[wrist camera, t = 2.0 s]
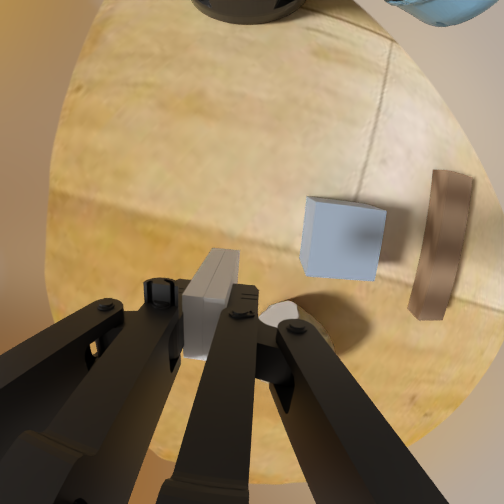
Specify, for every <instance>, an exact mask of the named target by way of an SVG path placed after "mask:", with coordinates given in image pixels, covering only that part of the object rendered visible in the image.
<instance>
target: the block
mask: <svg viewBox="0 0 504 504" xmlns="http://www.w3.org/2000/svg"><path fill="white" fill-rule="evenodd" d="M386 213H387V211H385V210H382V209H380V208H377V207H374V206H371V205H368V204H364V203H357V202H349V201H342V200H334V199H326V198H318V197H309V196H307V197H306V207H305V216H304V225H303V233H302V241H301V249H300V257H299V259H300V261H301V264H302V266H303V269H304V272H305V274H306V276H310V277H322V278H335V279H349V280H363V281H374V280H375V276H376V271H377V266H378V261H379V256H380V250H381V245H382V239H383V233H384V227H385V220H386Z"/></svg>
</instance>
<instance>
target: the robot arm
mask: <svg viewBox="0 0 504 504" xmlns="http://www.w3.org/2000/svg"><path fill="white" fill-rule="evenodd" d="M191 1H192V3H193V4H194V5H195V6H196V8H197V9H199V10H200V11H201V12H202V13H204V14H206V15H207V16H209V17H211V18H214V19H217V20H220V21H223V22H228V23H234V24H259V23H265V22H270V21H274V20H277V19H280V18H283V17H285V16H287V15H289V14H291V13H293V12H294V11H296V10H297V9H298V8H300V7H301V6H302V5H303V3H304V2H305V1H306V0H191ZM385 1H386V2H387V3H389V4H391V5H394V6H397V7H399V8H401V9H403V10H404V11H406V12H408V13H409V14H411V15H413V16H414V17H416V18H418V19H419V20H421V21H422V22H424V23H426V24H429V25H432V26H437V27H446V26H450V25H457V24H460V23H463V22H465V21H468V20H470V19H472V18H474V17H476V16H477V15H479V14H481V13H483V12H484V11H485V10H487V9H488V8H490V7H491V6H492V5H494V4H495V3H496V2H497V1H498V0H385ZM239 255H240V250H231V249H220V248H212V249H211V251H210V252H209V254H208V255H207V257H206V259H205V260H204V262H203V263H202V265H201V266H200V268H199V269H198V271H197V272H196V274H195V275H194V277H193V279H192V280H186V279H178V280H176V281H175V280H173V279H169V278H152V279H148V280H146V281H145V282H143V283H144V300H145V303H144V304H143V305H142V306H141V308H140V309H139V310H138V311H124V309H123V304H122V302H121V301H119V300H116V299H112V298H104V299H100V300H97V301H95V302H93V303H91V304H89V305H87V306H85V307H84V308H82V309H80V310H78V311H76V312H75V313H73V314H71V315H69V316H67V317H66V318H64V319H62V320H60V321H59V322H57V323H55V324H53V325H51V326H50V327H48V328H46V329H45V330H43V331H41V332H39V333H38V334H36V335H34V336H32V337H31V338H29V339H27V340H25V341H24V342H22V343H20V344H19V345H17V346H15V347H14V348H12V349H10V350H9V351H7V352H5V353H4V354H2V355H0V504H128V501H129V499H130V496H131V493H132V490H133V488H134V485H135V482H136V479H137V476H138V474H139V471H140V468H141V466H142V463H143V460H144V457H145V455H146V452H147V450H148V447H149V444H150V442H151V439H152V436H153V434H154V431H155V429H156V426H157V423H158V421H159V418H160V416H161V413H162V410H163V408H164V405H165V403H166V400H167V398H168V395H169V392H170V390H171V387H172V385H173V382H174V380H175V377H176V375H177V372H178V370H179V367H180V365H181V356H180V353H181V351H182V348H183V353H184V358H190V359H198V360H205V361H206V363H205V366H204V370H203V373H202V376H201V380H200V383H199V386H198V390H197V393H196V396H195V400H194V403H193V407H192V410H191V413H190V417H189V420H188V424H187V427H186V430H185V434H184V437H183V441H182V444H181V448H180V451H179V455H178V458H177V462H176V465H175V469H174V472H173V475H172V476H171V478H170V479H166V480H165V481H164V483H163V484H162V486H161V489H160V492H159V495H158V498H157V501H156V504H249V490H248V482H249V467H250V451H251V435H252V419H253V402H254V385H255V378H257V379H260V380H263V381H267V382H269V389H270V391H271V394H272V397H273V399H274V402H275V404H276V407H277V409H278V412H279V415H280V417H281V420H282V422H283V425H284V427H285V430H286V432H287V435H288V437H289V440H290V442H291V445H292V447H293V450H294V452H295V455H296V457H297V459H298V462H299V464H300V467H301V469H302V472H303V474H304V476H305V479H306V481H307V483H308V486H309V488H310V491H311V493H312V495H313V498H314V500H315V502H316V504H449V503H448V502H447V500H446V499H445V498H444V496H443V495H442V494H441V492H440V491H439V490H438V488H437V487H436V486H435V484H434V483H433V482H432V480H431V479H430V478H429V476H428V475H427V474H426V472H425V471H424V470H423V468H422V467H421V466H420V464H419V463H418V462H417V460H416V459H415V458H414V456H413V455H412V454H411V453H410V451H409V450H408V448H407V447H406V446H405V444H404V443H403V442H402V440H401V439H400V438H399V436H398V435H397V434H396V432H395V431H394V430H393V428H392V427H391V426H390V424H389V423H388V422H387V421H386V419H385V418H384V417H383V415H382V414H381V413H380V411H379V410H378V409H377V407H376V406H375V405H374V403H373V402H372V401H371V399H370V398H369V397H368V395H367V394H366V393H365V392H364V390H363V389H362V388H361V386H360V385H359V384H358V382H357V381H356V380H355V378H354V377H353V376H352V374H351V373H350V372H349V370H348V369H347V368H346V367H345V365H344V364H343V363H342V361H341V360H340V359H339V357H338V356H337V355H336V353H335V352H334V351H333V350H332V348H331V347H330V346H329V344H328V343H327V342H326V340H325V339H324V338H323V336H322V335H321V334H320V333H319V331H318V330H317V329H316V327H315V326H314V325H312V324H311V323H309V322H307V321H305V320H302V319H301V320H300V319H286V320H283V321H281V322H279V324H278V326H277V327H273V326H270V325H267V324H265V323H263V322H262V321H261V320H260V319H259V318H258V295H259V290H258V289H257V288H256V287H255V285H244V284H237V283H238V269H239ZM94 341H95V343H96V347H97V353H95V354H93V355H92V353H91V349H90V344H91V343H92V342H94Z"/></svg>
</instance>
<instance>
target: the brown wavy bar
mask: <svg viewBox="0 0 504 504" xmlns="http://www.w3.org/2000/svg"><path fill="white" fill-rule="evenodd" d="M472 179H473V178H472V177H469V176H466V175H463V174H459V173H456V172H452V171H449V170H433V175H432V185H431V194H430V202H429V209H428V216H427V222H426V228H425V234H424V239H423V245H422V250H421V255H420V259H419V264H418V268H417V273H416V277H415V281H414V285H413V289H412V293H411V297H410V300H409V304H408V307H407V309H408V310H409V311H410V312H411V313H412V314H413V315H414V316H415V317H416V318H417V319H418V320H443V317H444V314H445V311H446V308H447V305H448V302H449V298H450V295H451V291H452V288H453V284H454V280H455V277H456V273H457V269H458V264H459V260H460V256H461V251H462V246H463V241H464V236H465V231H466V225H467V219H468V212H469V205H470V198H471V189H472Z"/></svg>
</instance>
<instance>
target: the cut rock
mask: <svg viewBox="0 0 504 504" xmlns="http://www.w3.org/2000/svg"><path fill="white" fill-rule="evenodd" d="M258 318H259V319H260V320H261V321H262V322H263V323H265V324H267V325H270V326H273V327H277V326H278V324H279V322H281V321H283V320H286V319H300V320H301V319H302V320H305V321H307V322H309V323H311V324H312V325H314V326H315V327H316V329H317V330H318V331H319V333H320V334H321V335H322V336H323V338H324V339H325V340H326V342H327V343H328V344H329V346H330V347H331V348H332V350H333V351H334V352H335V349H334V344H333V343H332V340H331V338H330V336H329V334H328V333H327V331H326V330H325V329H324V327H323V325H322V324H321V323H319V322H318V321H317V320H315V319H314V317H313V316H312V315H310V314H309V313H307V312H306V311H304V310H303V309H302V308H301V307H300V306H299V305H297V304H296V303H294V302H292V301H288V300H287V301H284V302H279V303H276V304H273V305H270V306H269V307H268V308H267V309H266V310H265V311H264V312H263V313H262V314H261V315H260V316H259V317H258ZM261 381H262V382H265V383H268V384H269V382H267V381H263V380H261Z"/></svg>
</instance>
